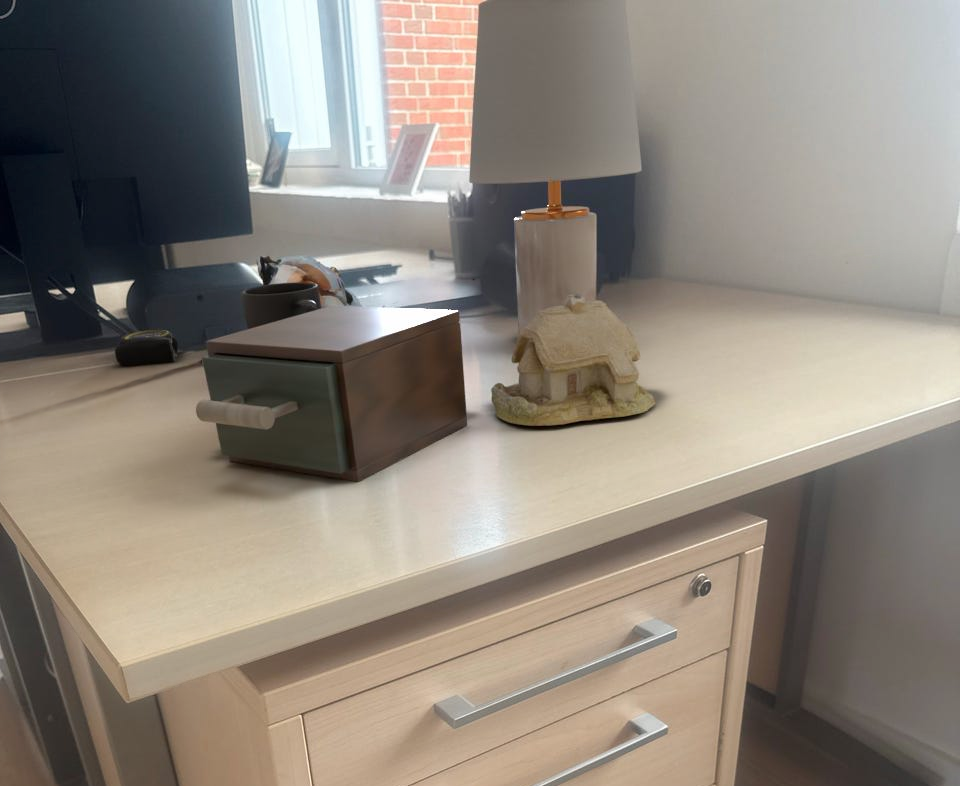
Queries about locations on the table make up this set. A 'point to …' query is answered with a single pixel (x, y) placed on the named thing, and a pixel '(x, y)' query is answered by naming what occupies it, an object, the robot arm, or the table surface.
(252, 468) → the table surface
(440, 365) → the cabinet
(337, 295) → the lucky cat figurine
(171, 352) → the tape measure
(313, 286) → the mug
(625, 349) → the ceramic model
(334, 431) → the drawer
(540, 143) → the lamp
